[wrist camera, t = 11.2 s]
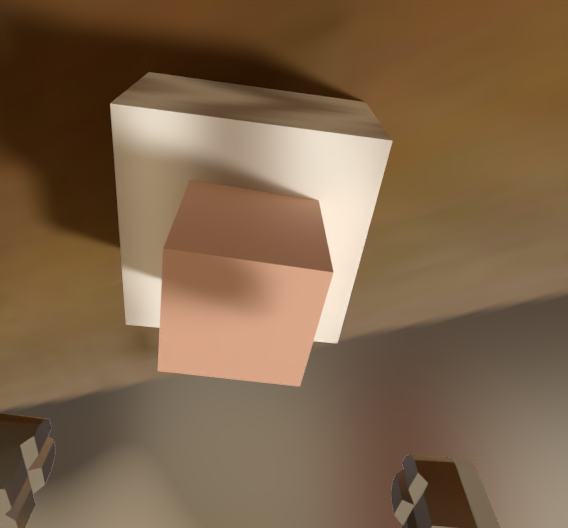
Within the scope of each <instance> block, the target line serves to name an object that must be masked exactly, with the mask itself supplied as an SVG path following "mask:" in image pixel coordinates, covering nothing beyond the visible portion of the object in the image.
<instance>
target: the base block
mask: <svg viewBox="0 0 568 528" xmlns="http://www.w3.org/2000/svg"><path fill="white" fill-rule="evenodd" d="M110 109H111V123H112V137H113V151H114V165H115V179H116V193H117V207H118V221H119V234H120V248H121V262H122V276H123V290H124V304H125V318H126V325H136V326H148V327H159V328H160V308H161V285H162V262H163V247H164V245H165V242H166V240H167V237H168V235H169V232H170V230H171V227H172V224H173V222H174V219H175V217H176V214H177V212H178V209H179V207H180V204H181V201H182V199H183V196H184V194H185V191H186V189H187V186H188V184H189V181H190V180H194V181H200V182H207V183H213V184H219V185H225V186H231V187H238V188H244V189H250V190H256V191H262V192H269V193H275V194H281V195H287V196H293V197H300V198H306V199H312V200H318V201H319V204H320V209H321V214H322V218H323V223H324V228H325V233H326V238H327V243H328V248H329V253H330V258H331V262H332V267H333V272H334V273H333V276H332V279H331V283H330V286H329V290H328V293H327V296H326V300H325V303H324V307H323V310H322V313H321V317H320V320H319V324H318V327H317V330H316V334H315V337H314V340H313V341H318V342H329V343H338V340H339V336H340V332H341V329H342V325H343V321H344V318H345V314H346V310H347V306H348V303H349V299H350V295H351V292H352V288H353V284H354V281H355V277H356V273H357V270H358V266H359V262H360V259H361V255H362V251H363V248H364V244H365V240H366V237H367V233H368V229H369V226H370V222H371V218H372V214H373V211H374V207H375V203H376V200H377V196H378V192H379V189H380V185H381V181H382V178H383V174H384V170H385V167H386V163H387V159H388V156H389V152H390V148H391V145H392V139H391V138H390V136H389V135H388V133H387V132H386V131H385V129H384V128H383V126H382V125H381V124H380V122H379V121H378V119H377V118H376V116H375V115H374V114H373V112H372V111H371V109H370V108H369V107H368V105H367V104H366V102H362V101H354V100H347V99H340V98H333V97H326V96H318V95H311V94H304V93H297V92H290V91H282V90H275V89H268V88H261V87H254V86H246V85H239V84H232V83H225V82H218V81H210V80H203V79H196V78H189V77H182V76H174V75H167V74H160V73H153V72H148V73H147V74H146V75H145V76H143V77H142V78H141V79H140V80H138V81H137V82H136V83H135V84H133V85H132V86H131V87H130V88H128V89H127V90H126V91H125V92H124V93H122V94H121V95H120V96H119V97H117V98H116V99H115V100H114V101H112V102H111V103H110Z"/></svg>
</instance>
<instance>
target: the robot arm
mask: <svg viewBox="0 0 568 528" xmlns="http://www.w3.org/2000/svg"><path fill="white" fill-rule="evenodd" d="M51 429H52V427H51V424H50V419H46V418H37V417H28V416H19V415H10V414H1V413H0V528H25V527H26V525H27V523H28V520H29V518H30V516H31V514H32V512H33V510H34V507H35V500H34V497H33V493H35V492H36V491H37V490H39V489H40V488H41V487H42V486H44V485H45V483H46V481H47V479H48V476H49V474H50V472H51V469H52V465H53V462H54V458H55V443H54V440H53V439H51V438H50V437H49V436H48V435H49V433H50V430H51ZM402 464H403V468H404V469H403V470H402V471H400V472H398V473H396V475H395V478H394V480H393V482H392V490H391V498H392V507H393V512H394V515H395V516H396V517H397V519H398V520H399V521H400V523H401V524H402V527H401V528H500V526H499V523H498V521H497V518H496V516H495V513H494V511H493V508H492V506H491V503H490V501H489V498H488V496H487V493H486V491H485V488H484V486H483V483H482V481H481V478H480V476H479V473H478V470H477V468H476V466H475V464H474V463H473V462H472V461H471V460H467V459H455V458H448V457H438V456H426V455H414V454H413V455H412V454H409V455H407V456H406V457H405V458H404V460H403V462H402Z"/></svg>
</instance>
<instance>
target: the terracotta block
mask: <svg viewBox="0 0 568 528" xmlns="http://www.w3.org/2000/svg"><path fill="white" fill-rule="evenodd" d="M333 273H334V272H333V267H332V262H331V258H330V253H329V248H328V243H327V238H326V233H325V228H324V223H323V218H322V214H321V209H320V204H319V201H318V200H312V199H306V198H300V197H293V196H287V195H281V194H275V193H269V192H262V191H256V190H250V189H244V188H238V187H231V186H225V185H219V184H213V183H207V182H200V181H194V180H190V181H189V184H188V186H187V189H186V191H185V194H184V196H183V199H182V201H181V204H180V207H179V209H178V212H177V214H176V217H175V219H174V222H173V224H172V227H171V230H170V232H169V235H168V237H167V240H166V242H165V245H164V247H163V262H162V285H161V308H160V331H159V354H158V371H163V372H172V373H181V374H190V375H200V376H210V377H218V378H227V379H236V380H245V381H254V382H264V383H273V384H282V385H291V386H300V385H301V381H302V378H303V374H304V371H305V368H306V364H307V361H308V357H309V354H310V351H311V347H312V344H313V340H314V337H315V334H316V330H317V327H318V324H319V320H320V317H321V313H322V310H323V307H324V303H325V300H326V296H327V293H328V290H329V286H330V283H331V279H332V276H333Z"/></svg>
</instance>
